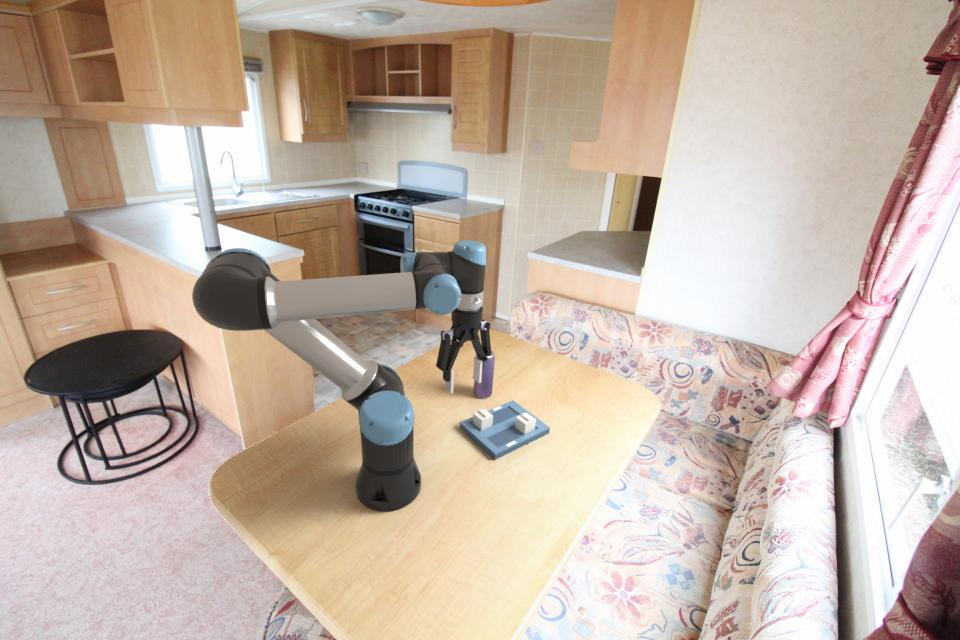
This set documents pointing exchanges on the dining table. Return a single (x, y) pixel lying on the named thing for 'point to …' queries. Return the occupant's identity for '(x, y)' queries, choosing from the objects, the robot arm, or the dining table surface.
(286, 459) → the dining table surface
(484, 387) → the beverage can
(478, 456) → the dining table surface
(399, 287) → the robot arm
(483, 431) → the switch bank
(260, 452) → the dining table surface
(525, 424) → the tab near
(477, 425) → the tab far
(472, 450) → the dining table surface
